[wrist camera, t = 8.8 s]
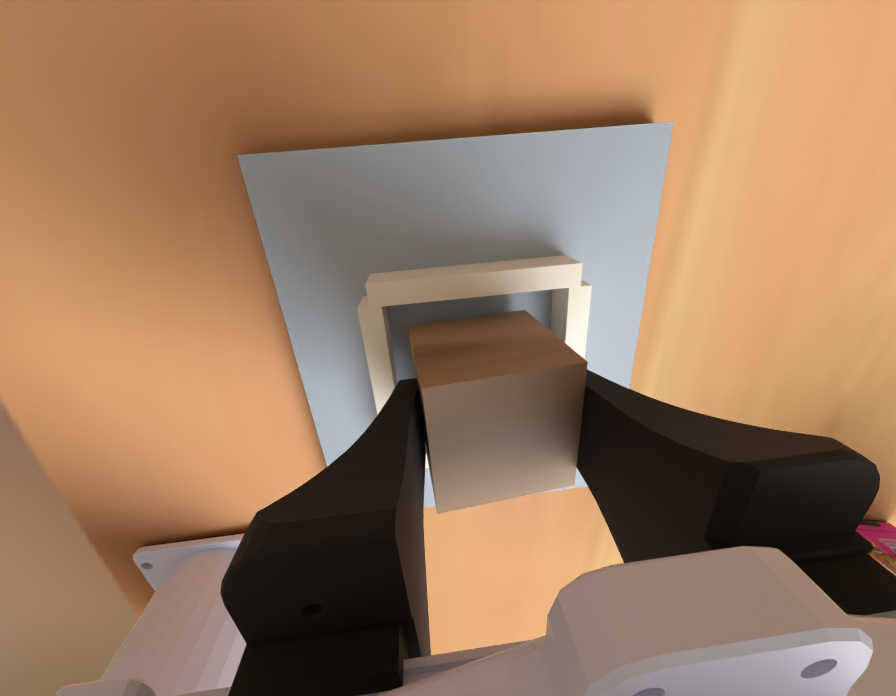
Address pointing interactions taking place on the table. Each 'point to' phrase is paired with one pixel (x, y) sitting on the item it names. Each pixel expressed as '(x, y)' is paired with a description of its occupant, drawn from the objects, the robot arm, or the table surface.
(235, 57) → the table surface
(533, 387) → the brown cube
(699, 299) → the table surface
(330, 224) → the base plate
